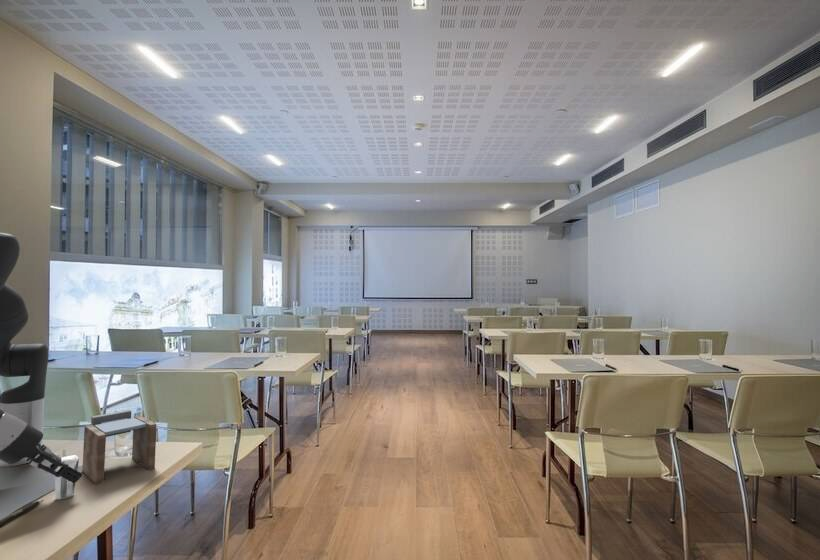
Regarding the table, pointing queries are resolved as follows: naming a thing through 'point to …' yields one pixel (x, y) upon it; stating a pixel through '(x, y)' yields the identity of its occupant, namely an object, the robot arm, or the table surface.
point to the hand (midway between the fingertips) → (75, 475)
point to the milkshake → (63, 485)
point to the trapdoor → (116, 423)
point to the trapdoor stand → (97, 440)
